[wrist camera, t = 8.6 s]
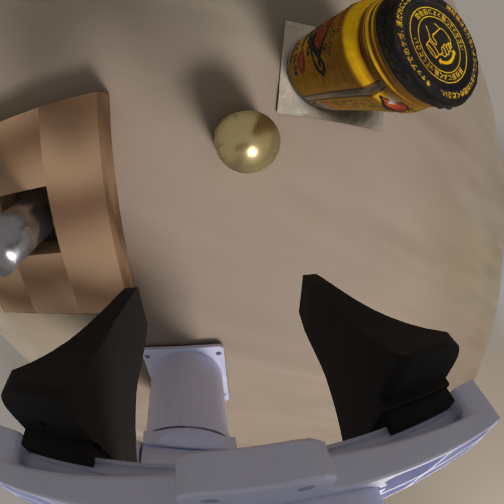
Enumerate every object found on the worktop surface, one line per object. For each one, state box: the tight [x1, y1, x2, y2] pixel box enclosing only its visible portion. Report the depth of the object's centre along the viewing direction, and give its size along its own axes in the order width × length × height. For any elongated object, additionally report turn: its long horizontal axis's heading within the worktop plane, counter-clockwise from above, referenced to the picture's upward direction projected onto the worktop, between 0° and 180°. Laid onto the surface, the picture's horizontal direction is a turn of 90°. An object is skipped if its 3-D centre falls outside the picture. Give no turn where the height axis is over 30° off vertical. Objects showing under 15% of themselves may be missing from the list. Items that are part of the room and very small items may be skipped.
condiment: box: [277, 0, 478, 131], centre depth 12 cm, size 7×8×12 cm
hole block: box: [0, 91, 135, 314], centre depth 17 cm, size 16×14×2 cm
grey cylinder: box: [0, 190, 55, 277], centre depth 15 cm, size 4×4×7 cm
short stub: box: [214, 110, 280, 173], centre depth 17 cm, size 4×4×4 cm
